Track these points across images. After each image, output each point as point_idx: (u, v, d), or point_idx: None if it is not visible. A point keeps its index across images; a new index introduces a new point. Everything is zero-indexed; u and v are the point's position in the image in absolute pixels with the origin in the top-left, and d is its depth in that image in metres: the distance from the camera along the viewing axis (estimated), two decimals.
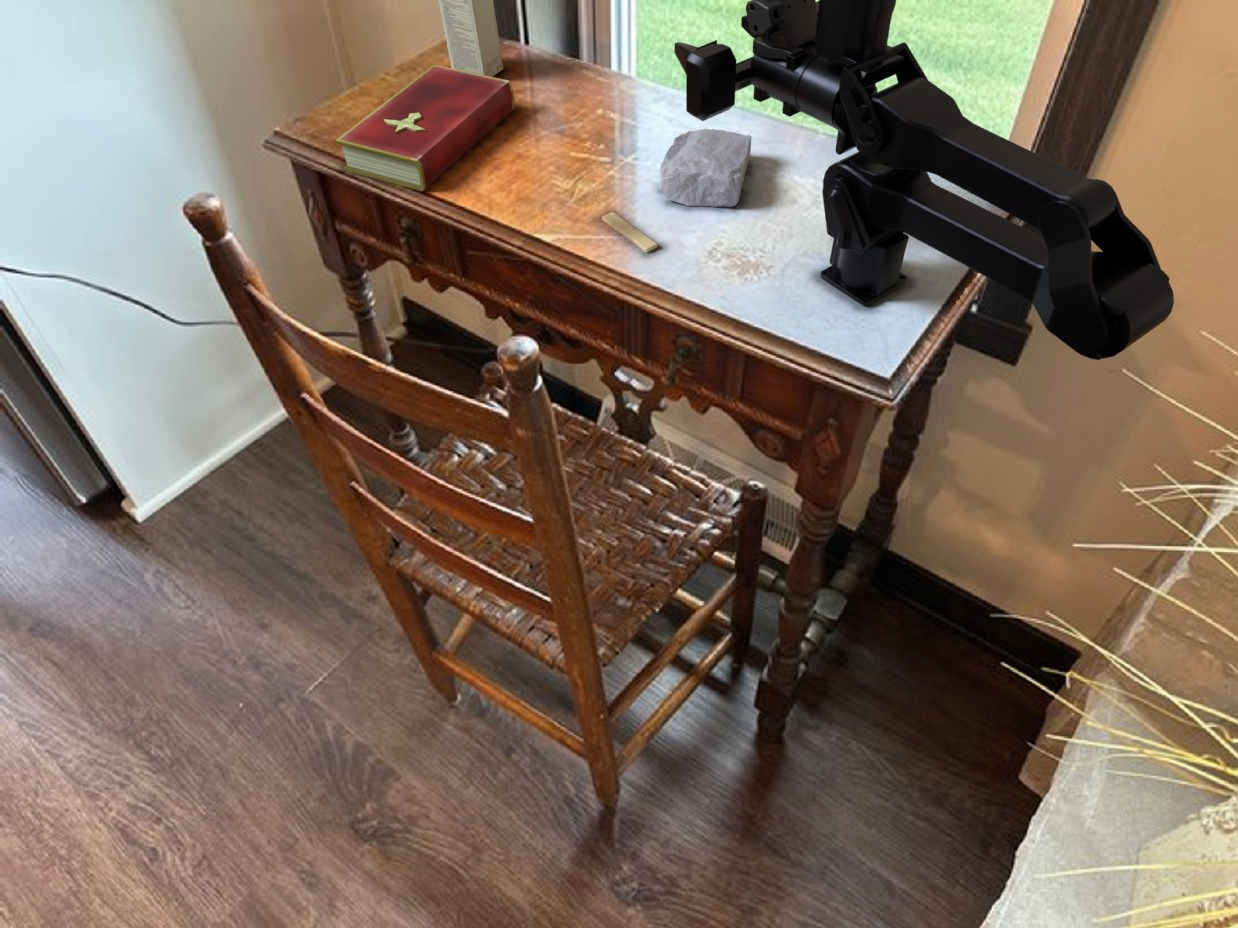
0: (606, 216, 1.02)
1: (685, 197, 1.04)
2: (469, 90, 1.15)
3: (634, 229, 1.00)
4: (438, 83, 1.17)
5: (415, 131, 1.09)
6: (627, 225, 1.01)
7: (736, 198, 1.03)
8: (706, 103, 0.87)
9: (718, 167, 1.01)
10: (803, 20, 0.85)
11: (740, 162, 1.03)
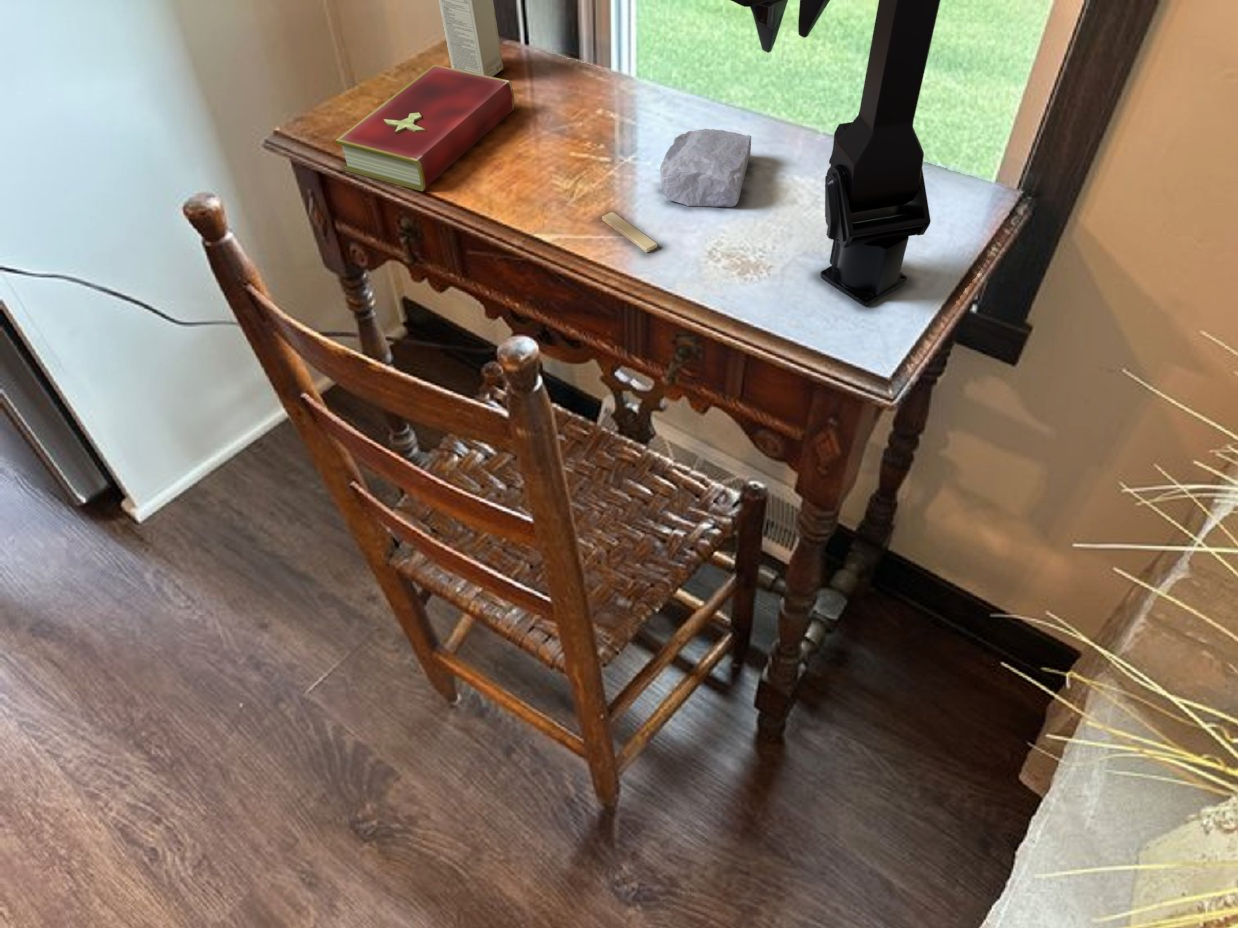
0: (606, 216, 1.02)
1: (685, 197, 1.04)
2: (469, 90, 1.15)
3: (634, 229, 1.00)
4: (438, 83, 1.17)
5: (415, 131, 1.09)
6: (627, 225, 1.01)
7: (736, 198, 1.03)
8: None
9: (718, 167, 1.01)
10: None
11: (740, 162, 1.03)
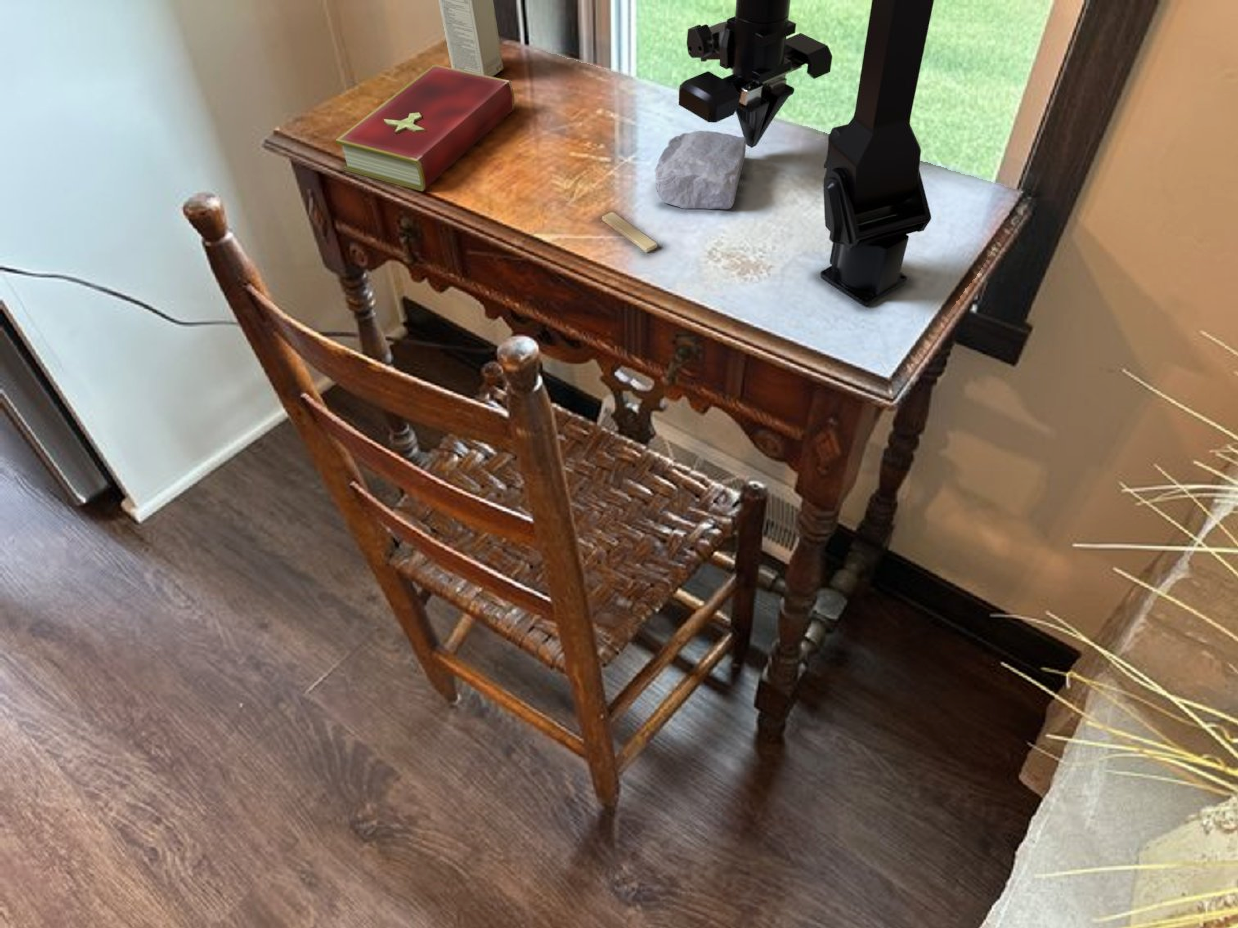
0: (606, 216, 1.02)
1: (680, 199, 1.03)
2: (469, 90, 1.15)
3: (634, 229, 1.00)
4: (438, 83, 1.17)
5: (415, 131, 1.09)
6: (627, 225, 1.01)
7: (731, 200, 1.02)
8: (702, 93, 0.98)
9: (713, 170, 1.01)
10: None
11: (735, 164, 1.02)
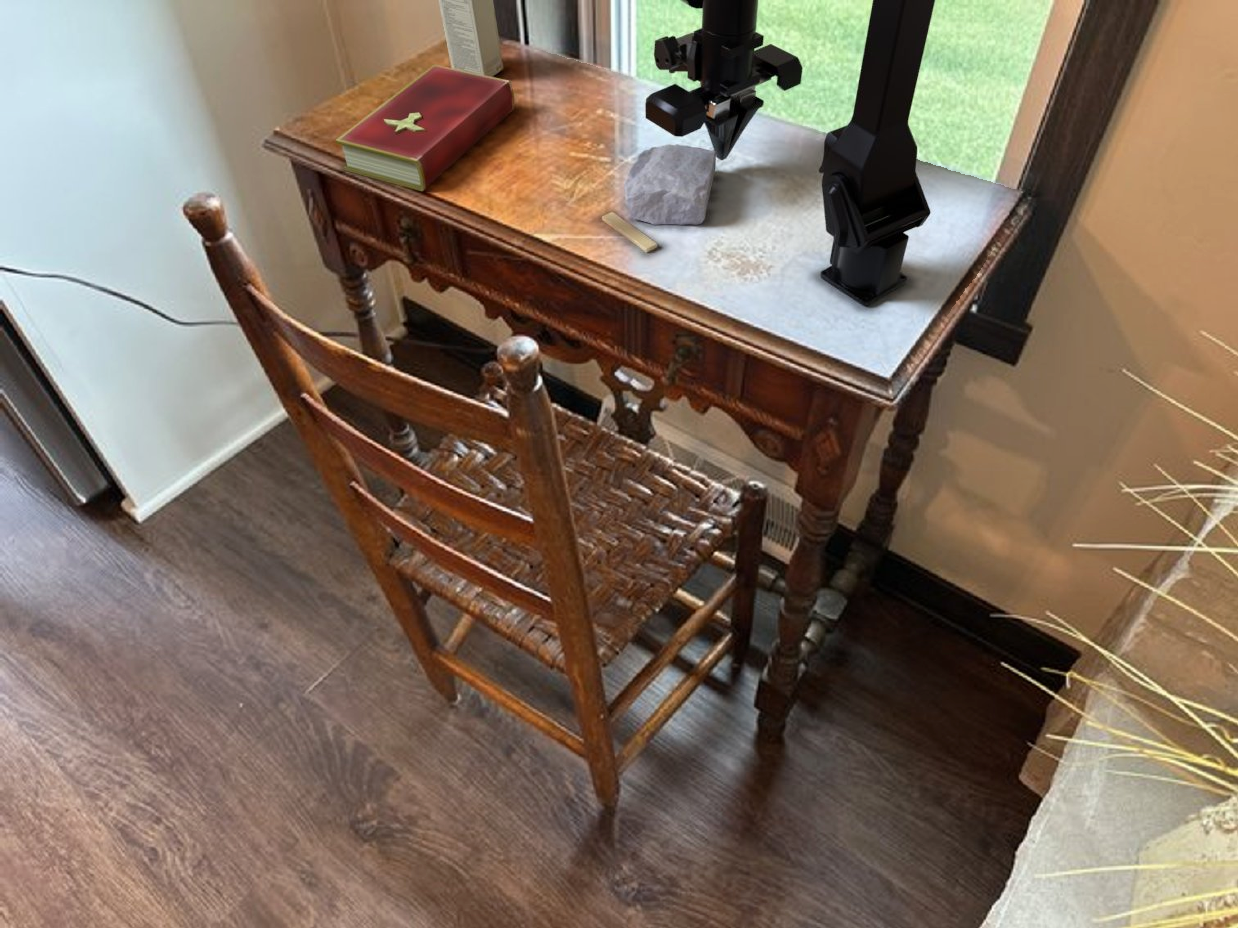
0: (606, 216, 1.02)
1: (650, 215, 1.01)
2: (469, 90, 1.15)
3: (634, 229, 1.00)
4: (438, 83, 1.17)
5: (415, 131, 1.09)
6: (627, 225, 1.01)
7: (702, 216, 1.01)
8: (668, 107, 0.96)
9: (683, 185, 0.99)
10: None
11: (705, 179, 1.01)
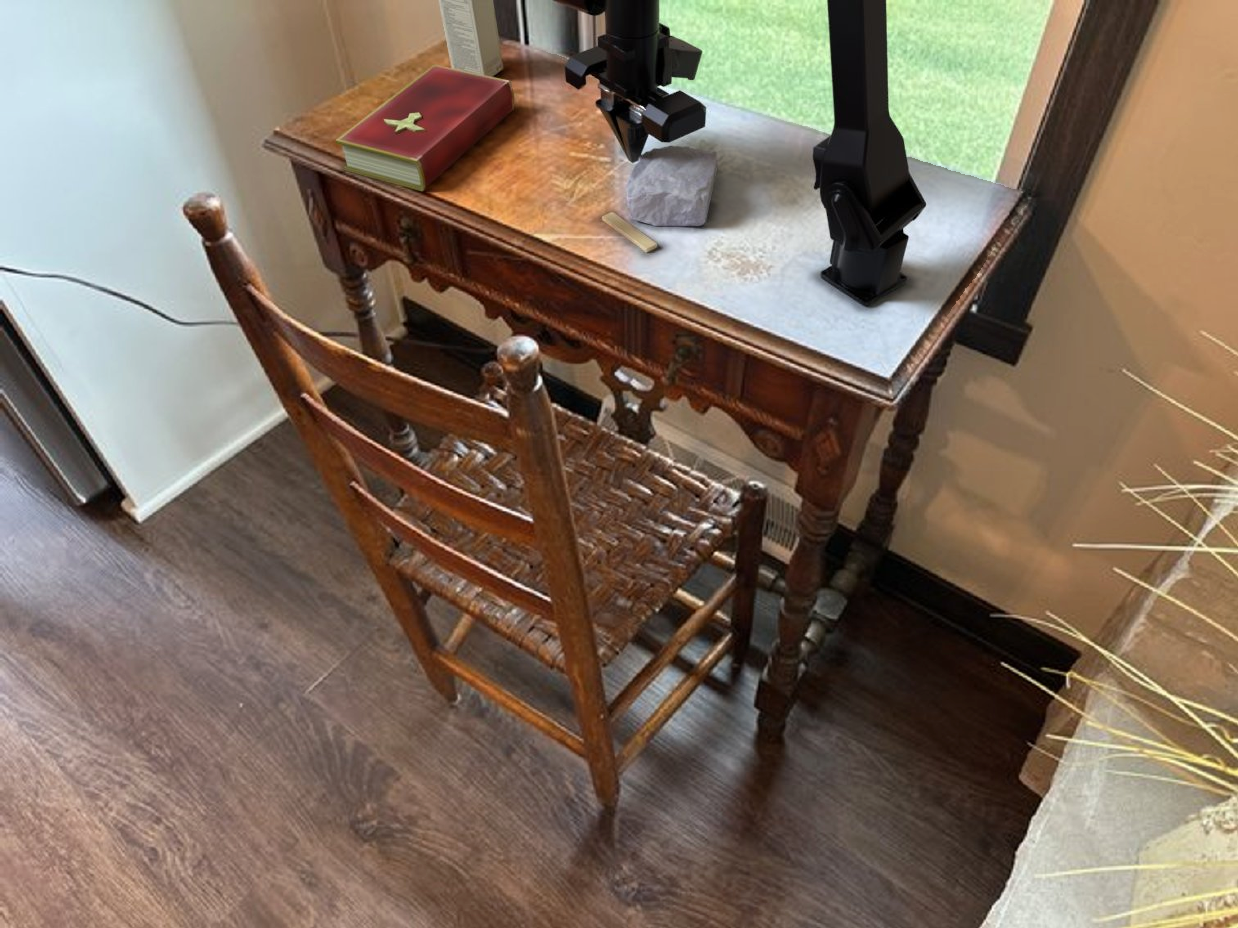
0: (606, 216, 1.02)
1: (651, 217, 1.01)
2: (469, 90, 1.15)
3: (634, 229, 1.00)
4: (438, 83, 1.17)
5: (415, 131, 1.09)
6: (627, 225, 1.01)
7: (704, 217, 1.00)
8: None
9: (684, 187, 0.99)
10: (669, 44, 1.00)
11: (707, 180, 1.00)
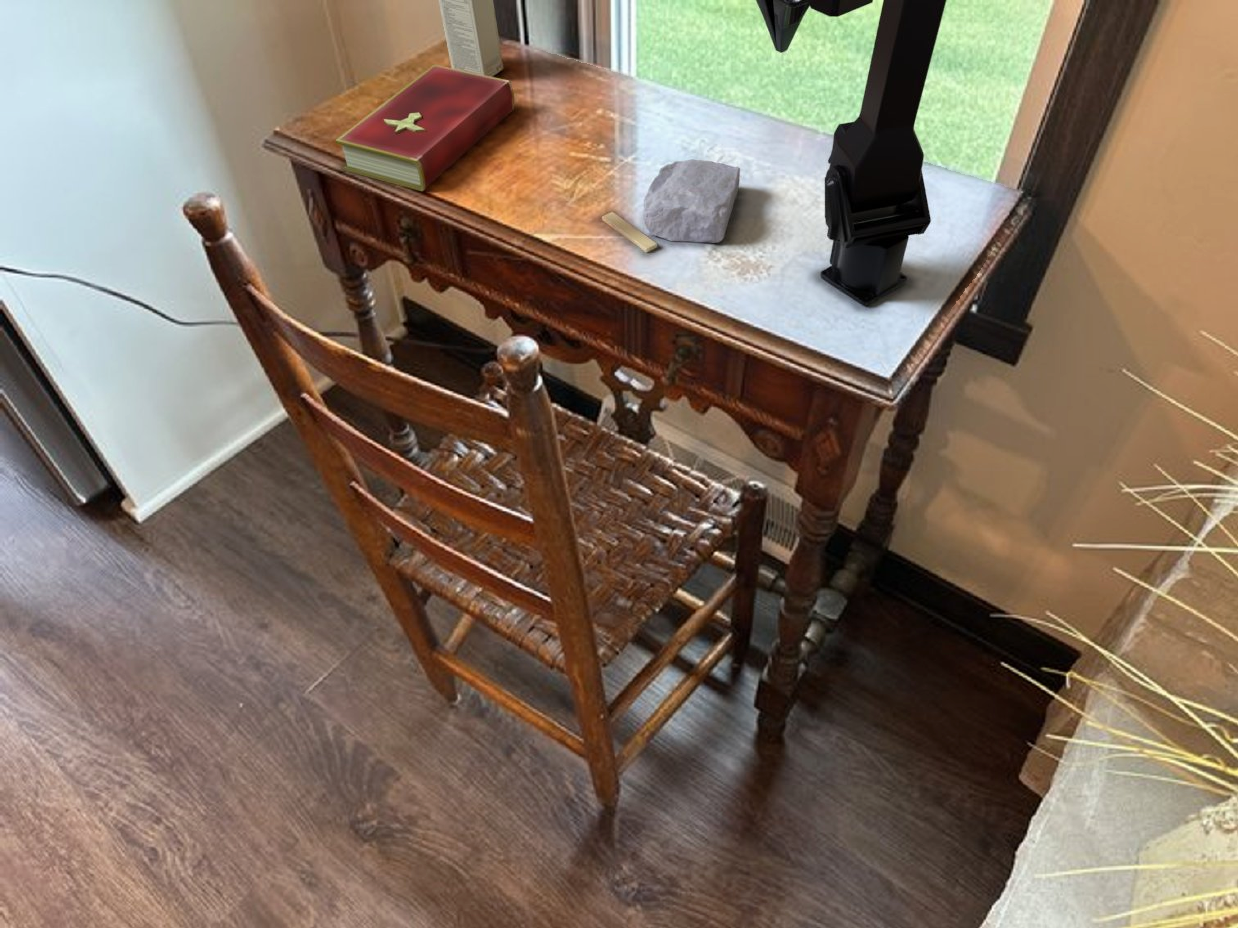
0: (606, 216, 1.02)
1: (668, 232, 0.99)
2: (469, 90, 1.15)
3: (634, 229, 1.00)
4: (438, 83, 1.17)
5: (415, 131, 1.09)
6: (627, 225, 1.01)
7: (721, 234, 0.98)
8: None
9: (702, 202, 0.97)
10: None
11: (726, 197, 0.98)
